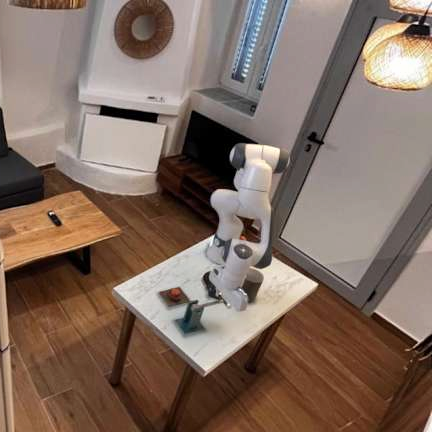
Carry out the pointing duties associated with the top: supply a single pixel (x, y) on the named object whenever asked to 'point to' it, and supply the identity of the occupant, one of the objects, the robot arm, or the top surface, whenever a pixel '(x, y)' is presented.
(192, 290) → the top surface
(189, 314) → the bracket
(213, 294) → the gaming controller
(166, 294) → the control block
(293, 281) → the top surface
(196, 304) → the lever
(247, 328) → the top surface
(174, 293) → the button
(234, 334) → the top surface
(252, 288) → the pillar candle
